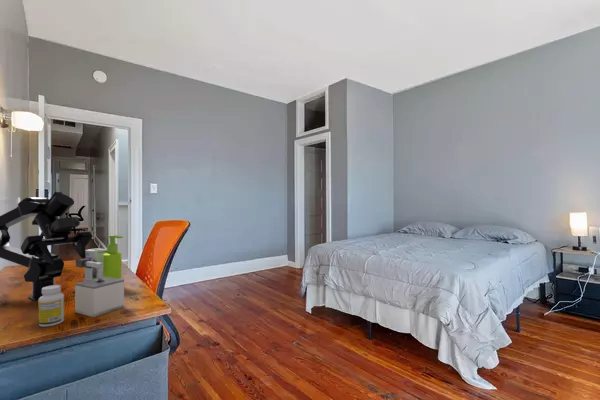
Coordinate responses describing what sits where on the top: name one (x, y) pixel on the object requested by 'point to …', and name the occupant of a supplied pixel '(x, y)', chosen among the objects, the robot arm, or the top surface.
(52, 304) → the supplement bottle
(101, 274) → the plunger
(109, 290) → the slotted grey box
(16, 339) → the top surface
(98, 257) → the syrup box
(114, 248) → the soap dispenser
